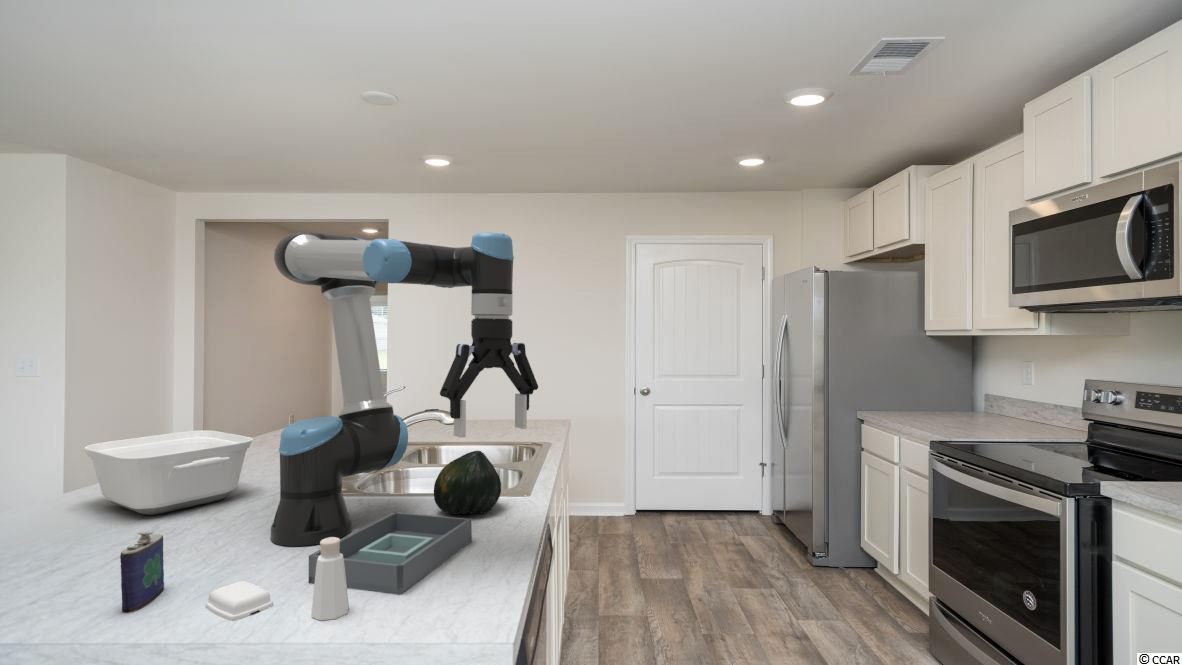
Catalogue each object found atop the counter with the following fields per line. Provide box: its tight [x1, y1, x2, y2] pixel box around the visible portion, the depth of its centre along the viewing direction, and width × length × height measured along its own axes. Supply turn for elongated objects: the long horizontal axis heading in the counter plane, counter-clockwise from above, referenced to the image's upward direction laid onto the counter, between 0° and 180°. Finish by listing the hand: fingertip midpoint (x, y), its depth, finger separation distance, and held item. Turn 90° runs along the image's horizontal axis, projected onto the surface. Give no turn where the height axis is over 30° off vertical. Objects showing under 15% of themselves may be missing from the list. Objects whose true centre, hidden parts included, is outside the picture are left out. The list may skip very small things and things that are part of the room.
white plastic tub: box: [83, 429, 254, 516], centre depth 151 cm, size 34×29×15 cm
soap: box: [205, 580, 274, 622], centre depth 96 cm, size 9×7×3 cm
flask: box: [119, 531, 165, 614], centre depth 98 cm, size 9×3×11 cm, turn 8°
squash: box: [433, 450, 502, 515], centre depth 144 cm, size 14×15×15 cm
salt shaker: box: [310, 537, 350, 622], centre depth 94 cm, size 5×5×11 cm
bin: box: [308, 511, 473, 595], centre depth 115 cm, size 17×25×4 cm
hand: (491, 432), depth 116 cm, fingers open, 13 cm apart
